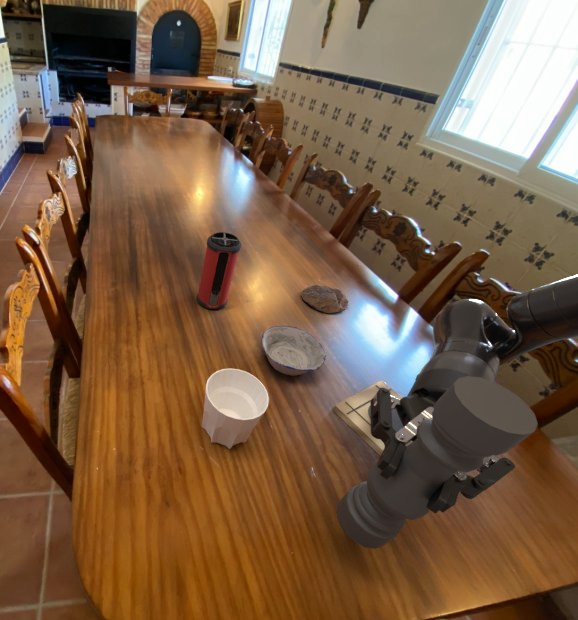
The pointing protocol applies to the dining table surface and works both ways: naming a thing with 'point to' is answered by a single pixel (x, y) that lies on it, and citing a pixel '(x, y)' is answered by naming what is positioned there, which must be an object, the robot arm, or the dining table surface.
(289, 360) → the bowl
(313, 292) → the rock
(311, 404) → the dining table surface
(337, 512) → the candle holder
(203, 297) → the speaker
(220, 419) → the cup
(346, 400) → the board
